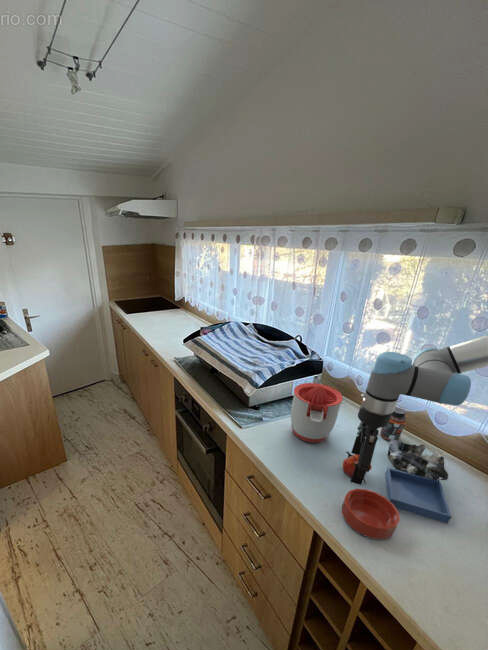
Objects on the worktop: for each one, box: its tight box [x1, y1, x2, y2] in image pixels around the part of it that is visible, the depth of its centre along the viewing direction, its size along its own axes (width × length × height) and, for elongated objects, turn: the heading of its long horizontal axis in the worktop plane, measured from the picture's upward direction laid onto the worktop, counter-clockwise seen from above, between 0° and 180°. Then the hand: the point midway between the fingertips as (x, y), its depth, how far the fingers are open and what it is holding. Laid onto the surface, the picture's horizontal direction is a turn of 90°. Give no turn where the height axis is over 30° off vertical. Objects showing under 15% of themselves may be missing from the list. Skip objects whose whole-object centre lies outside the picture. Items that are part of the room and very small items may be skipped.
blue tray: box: [384, 467, 453, 525], centre depth 85 cm, size 13×13×3 cm
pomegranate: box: [342, 451, 373, 484], centre depth 92 cm, size 7×7×10 cm
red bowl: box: [341, 488, 401, 540], centre depth 79 cm, size 12×12×4 cm
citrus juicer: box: [290, 382, 344, 444], centre depth 107 cm, size 16×17×20 cm
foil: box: [387, 439, 449, 482], centre depth 94 cm, size 12×11×15 cm
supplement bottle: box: [379, 407, 407, 442], centre depth 107 cm, size 6×6×11 cm
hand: (355, 467), depth 92 cm, fingers open, 13 cm apart
